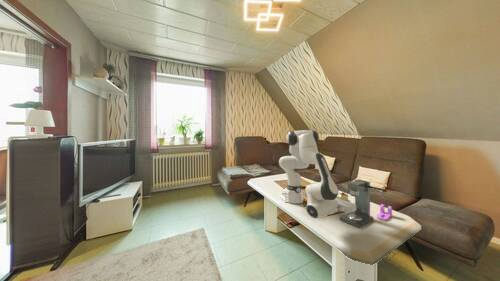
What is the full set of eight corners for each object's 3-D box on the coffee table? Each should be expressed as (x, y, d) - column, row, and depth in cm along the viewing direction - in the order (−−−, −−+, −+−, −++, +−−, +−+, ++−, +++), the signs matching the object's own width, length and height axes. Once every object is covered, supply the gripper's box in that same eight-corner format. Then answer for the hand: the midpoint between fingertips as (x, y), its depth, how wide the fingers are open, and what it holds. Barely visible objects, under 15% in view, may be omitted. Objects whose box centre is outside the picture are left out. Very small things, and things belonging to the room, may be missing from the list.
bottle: (336, 208, 106) (336, 191, 106) (342, 206, 108) (342, 190, 108) (343, 211, 102) (343, 194, 101) (349, 210, 103) (349, 193, 103)
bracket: (382, 213, 122) (382, 203, 122) (391, 215, 118) (392, 206, 117) (375, 218, 114) (375, 208, 114) (385, 222, 110) (385, 211, 110)
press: (373, 234, 97) (373, 191, 96) (339, 219, 114) (339, 182, 113) (387, 225, 106) (387, 185, 105) (354, 213, 123) (354, 178, 122)
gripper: (348, 205, 89) (362, 200, 96) (315, 194, 107) (329, 190, 114) (348, 217, 89) (362, 211, 96) (315, 204, 107) (329, 199, 114)
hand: (344, 199), depth 105 cm, fingers closed on bottle, 5 cm apart
